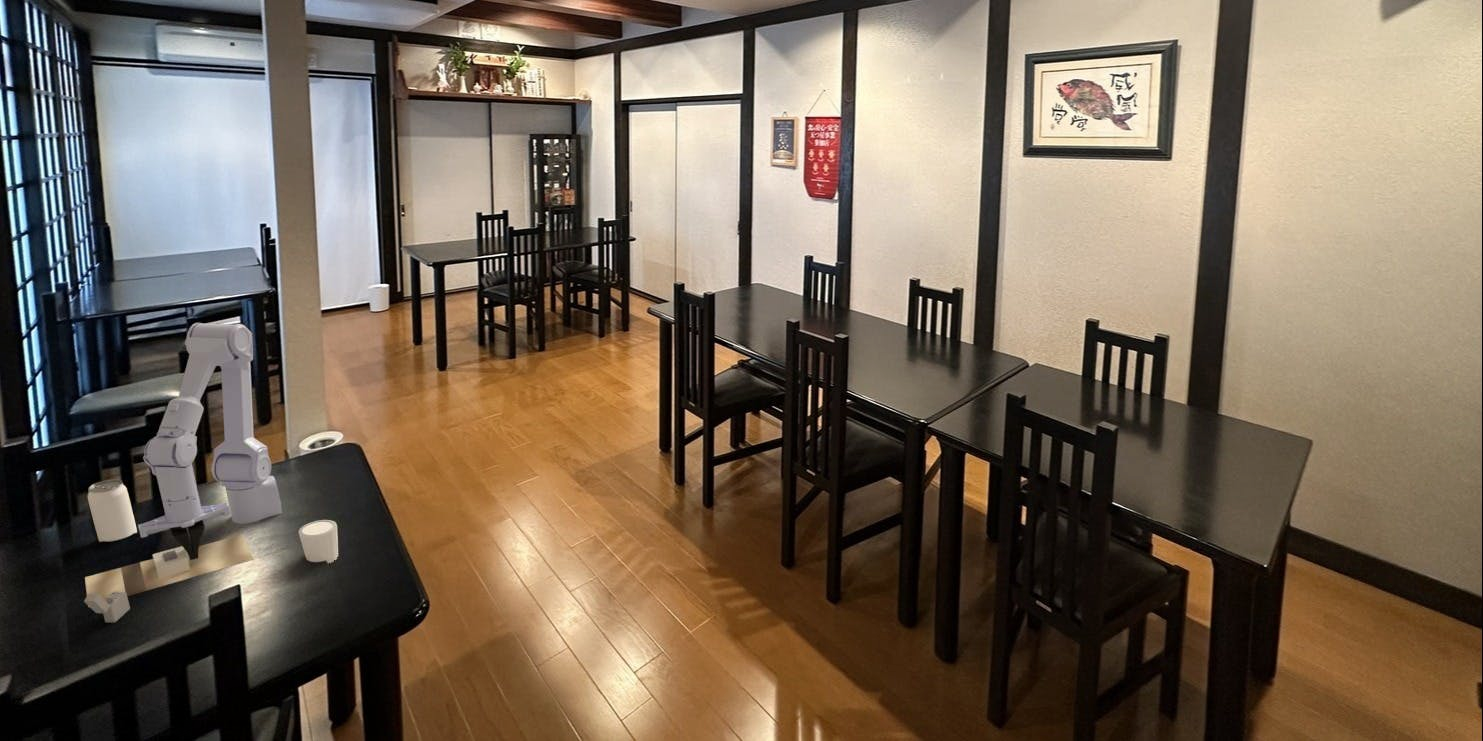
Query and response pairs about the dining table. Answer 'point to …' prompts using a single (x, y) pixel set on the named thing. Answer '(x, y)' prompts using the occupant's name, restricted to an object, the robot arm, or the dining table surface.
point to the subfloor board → (147, 578)
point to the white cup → (320, 541)
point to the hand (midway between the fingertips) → (193, 557)
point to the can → (111, 510)
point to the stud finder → (171, 562)
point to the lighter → (109, 605)
